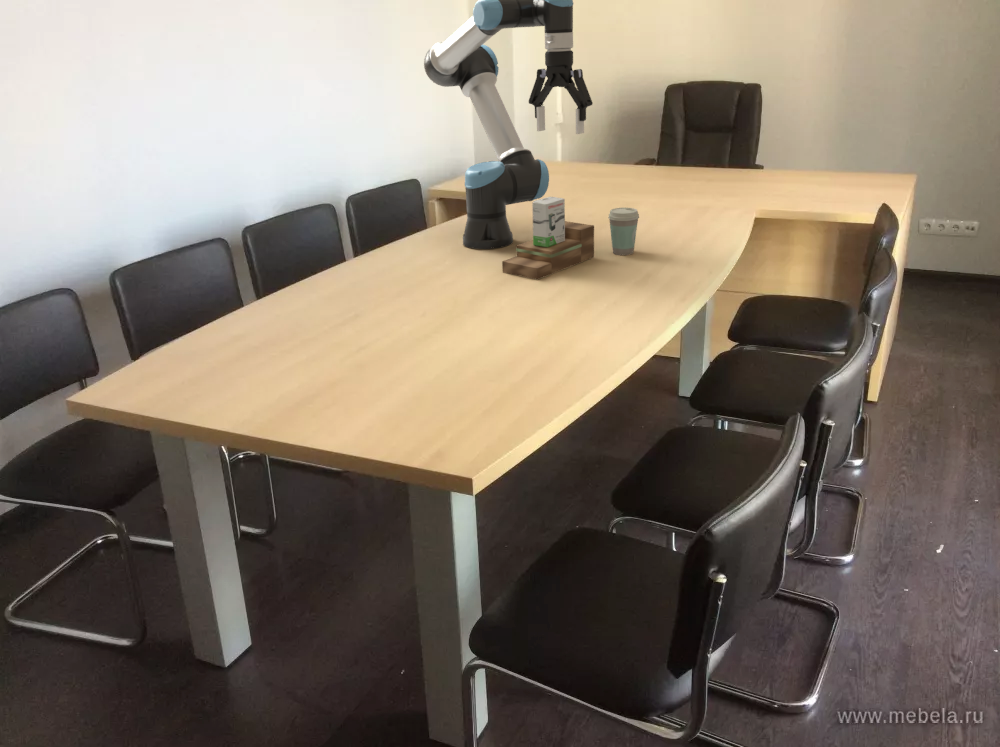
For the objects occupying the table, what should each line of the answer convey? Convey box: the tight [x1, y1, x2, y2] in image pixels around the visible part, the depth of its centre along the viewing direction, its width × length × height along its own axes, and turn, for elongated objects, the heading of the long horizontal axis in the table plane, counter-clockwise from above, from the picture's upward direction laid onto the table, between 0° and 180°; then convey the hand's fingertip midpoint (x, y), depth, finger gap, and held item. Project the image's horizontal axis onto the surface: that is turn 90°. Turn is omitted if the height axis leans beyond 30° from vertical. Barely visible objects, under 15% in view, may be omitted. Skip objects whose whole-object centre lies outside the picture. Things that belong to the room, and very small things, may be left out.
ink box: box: [531, 196, 566, 247], centre depth 225 cm, size 9×5×12 cm, turn 140°
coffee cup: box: [608, 207, 640, 256], centre depth 236 cm, size 9×9×12 cm
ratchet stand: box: [501, 220, 595, 280], centre depth 228 cm, size 12×25×9 cm, turn 138°
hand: (560, 132), depth 233 cm, fingers open, 13 cm apart
